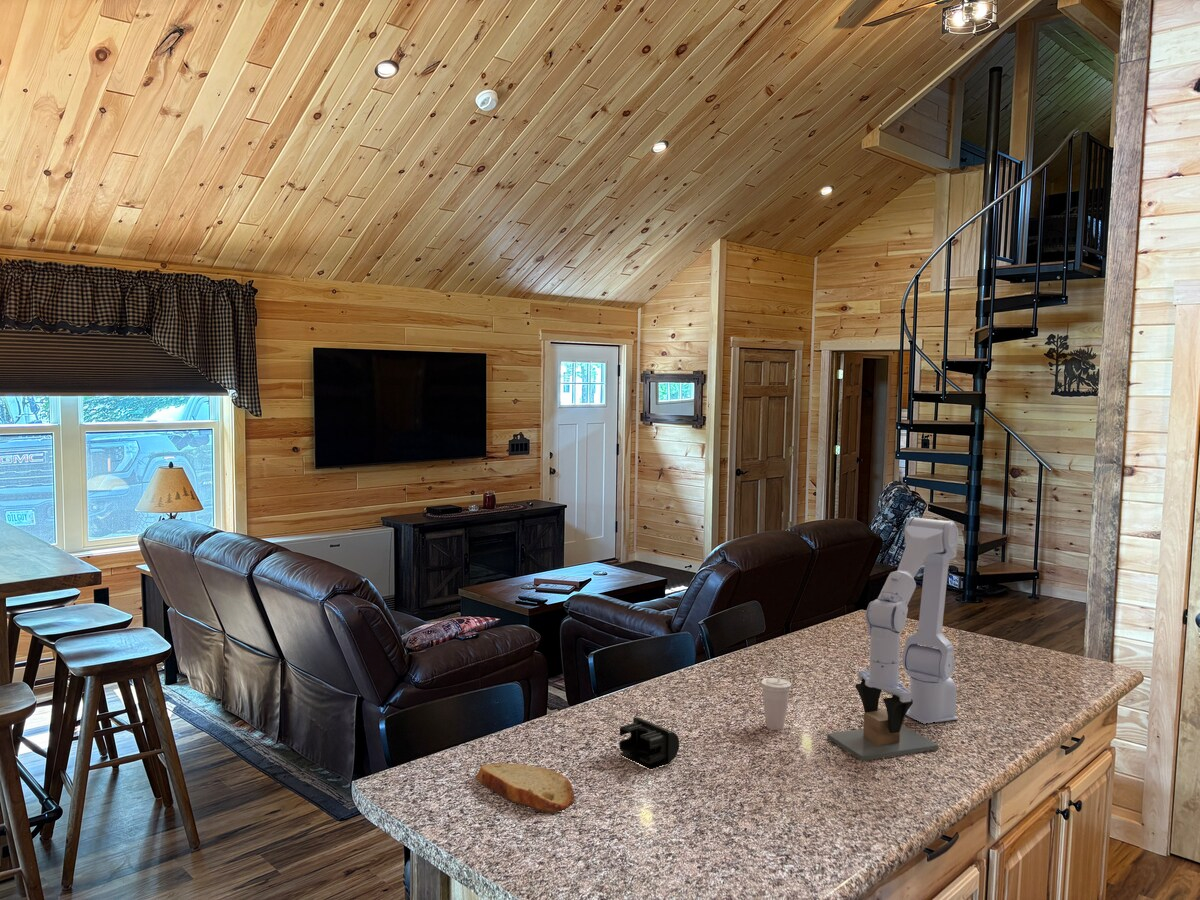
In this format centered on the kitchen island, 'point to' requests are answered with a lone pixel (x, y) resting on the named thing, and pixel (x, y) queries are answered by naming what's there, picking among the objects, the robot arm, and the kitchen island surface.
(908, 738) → the board
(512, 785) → the slice of bread
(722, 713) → the kitchen island surface
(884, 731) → the cube
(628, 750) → the end cap
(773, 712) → the smoothie
